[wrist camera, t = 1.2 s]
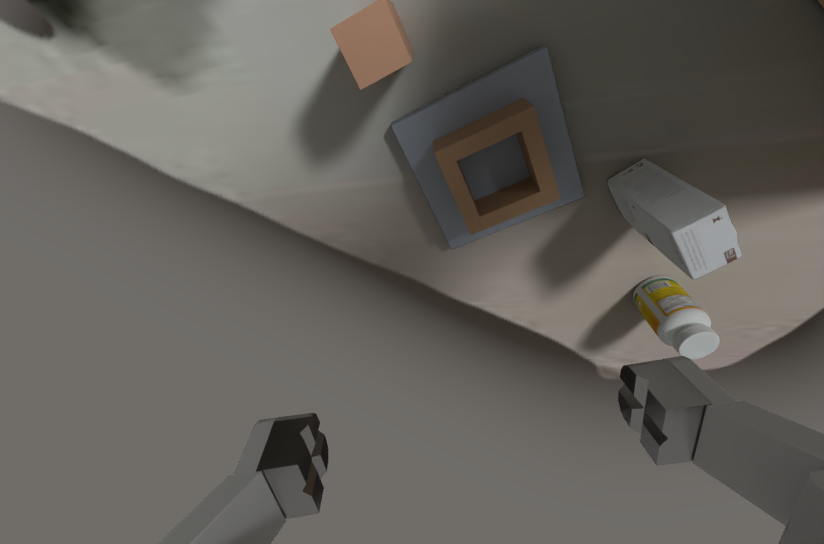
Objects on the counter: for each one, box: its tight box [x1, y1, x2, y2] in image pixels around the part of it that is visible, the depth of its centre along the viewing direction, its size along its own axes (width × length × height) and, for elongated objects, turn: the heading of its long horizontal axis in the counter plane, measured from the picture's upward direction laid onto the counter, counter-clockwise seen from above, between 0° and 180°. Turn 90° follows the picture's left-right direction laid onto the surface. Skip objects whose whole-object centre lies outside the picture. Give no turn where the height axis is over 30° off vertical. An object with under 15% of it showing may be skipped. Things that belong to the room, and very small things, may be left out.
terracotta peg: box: [330, 0, 413, 90], centre depth 29 cm, size 4×4×10 cm
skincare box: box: [608, 159, 741, 280], centre depth 36 cm, size 6×4×12 cm
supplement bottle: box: [633, 276, 720, 359], centre depth 44 cm, size 5×5×10 cm
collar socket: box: [391, 46, 584, 250], centre depth 37 cm, size 15×15×6 cm
